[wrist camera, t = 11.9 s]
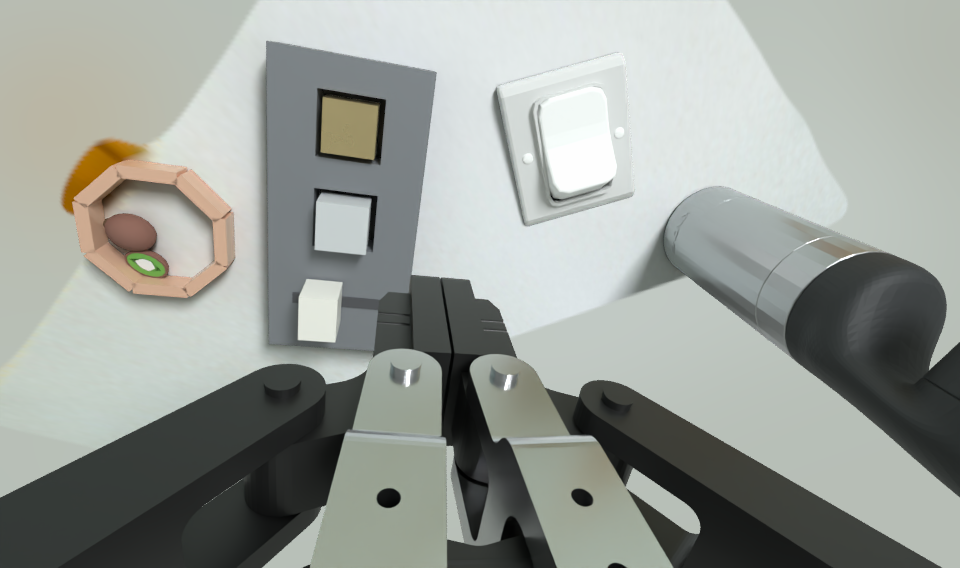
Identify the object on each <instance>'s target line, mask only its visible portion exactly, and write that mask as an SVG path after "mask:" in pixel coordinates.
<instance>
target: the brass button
mask: <svg viewBox="0 0 960 568" xmlns="http://www.w3.org/2000/svg"><path fill="white" fill-rule="evenodd" d="M379 113H380V103H379V102H373V101H367V100H361V99H356V98H350V97H344V96H338V95H332V94H327V95H325V96H324V97H323V102H322V130H321V152H322V153H329V154H336V155H343V156H350V157H356V158H363V159H370V160H374V159H375V155H376V149H377V137H378V125H379Z"/></svg>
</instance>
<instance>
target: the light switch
mask: <svg viewBox="0 0 960 568" xmlns="http://www.w3.org/2000/svg"><path fill="white" fill-rule="evenodd" d="M496 91H497V96H498V100H499V105H500V110H501V115H502V120H503V125H504V130H505V134H506V139H507V144H508V148H509V153H510V158H511V163H512V167H513V172H514V177H515V181H516V186H517V191H518V195H519V200H520V205H521V209H522V214H523V219H524V224H525V225H526V226H530V225H534V224H537V223H541V222H544V221H548V220H551V219H555V218H558V217H562V216H565V215H569V214H572V213H576V212H579V211H583V210H586V209H590V208H593V207H597V206H601V205H604V204H608V203H611V202H615V201H618V200H622V199H625V198H629V197H632V196H633V195H634V191H635V187H634V173H633V159H632V144H631V130H630V116H629V102H628V88H627V74H626V62H625V59H624V55H623V54H622V53H614V54H610V55H607V56H603V57H600V58H596V59H593V60H589V61H585V62H582V63H578V64H575V65H571V66H567V67H564V68H560V69H557V70H553V71H549V72H546V73H542V74H539V75H535V76H531V77H528V78H524V79H521V80H517V81H513V82H510V83H506V84H503V85H499V86H498V87H497V90H496ZM607 183H608V184H607ZM605 184H607V185H606V186H605V187H603V186H604V185H605ZM602 187H603V188H602ZM600 188H602V189H600ZM594 190H595V191H594ZM587 192H588V193H587ZM550 194H551V195H552V197H553V198H556V199H563V200H560V201H558V200H552V198H551V196H550ZM580 194H581V195H580ZM573 196H574V197H573ZM566 198H567V199H566Z"/></svg>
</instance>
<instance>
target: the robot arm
mask: <svg viewBox="0 0 960 568" xmlns="http://www.w3.org/2000/svg"><path fill="white" fill-rule="evenodd" d="M664 248H665V253H666V255H667V257H668V259H669V260H670V262H671V263H672V264H673V265H674V266H675V267H676V268H678V269H679V270H680V271H681V272H683V273H684V274H685V275H687V276H688V277H689V278H690V279H692V280H693V281H694V282H695V283H696V284H698V285H699V286H700V287H702V288H703V289H704V290H705V291H707V292H708V293H709V294H711V295H712V296H713V297H714V298H716V299H717V300H718V301H719V302H721V303H722V304H723V305H725V306H726V307H727V308H728V309H730V310H731V311H732V312H733V313H735V314H736V315H737V316H739V317H740V318H741V319H742V320H744V321H745V322H746V323H748V324H749V325H750V326H751V327H753V328H754V329H755V330H757V331H758V332H759V333H760V334H761V335H763V336H764V337H765V338H767V339H768V340H769V341H771V342H772V343H773V344H775V345H776V346H777V347H778V348H780V349H781V350H782V351H784V352H785V353H786V354H787V355H789V356H790V357H791V358H792V359H794V360H795V361H796V362H798V363H799V364H800V365H802V366H803V367H804V368H805V369H807V370H808V371H809V372H811V373H812V374H813V375H815V376H816V377H817V378H819V379H820V380H821V381H823V382H824V383H825V384H827V385H828V386H829V387H830V388H832V389H833V390H834V391H836V392H837V393H838V394H840V395H841V396H842V397H843V398H844V399H846V400H847V401H848V402H849V403H851V404H852V405H853V406H855V407H856V408H857V409H858V410H859V411H860V412H862V413H863V414H864V415H865V416H866V417H867V418H869V419H870V420H871V421H872V422H873V423H875V424H876V425H877V426H878V427H879V428H881V429H882V430H883V431H884V432H885V433H886V434H887V435H889V436H890V437H891V438H892V439H893V440H894V441H895V442H896V443H898V444H899V445H900V446H901V447H902V448H903V449H904V450H905V451H907V452H908V453H909V454H910V455H911V456H912V457H913V458H914V459H916V460H917V461H918V462H919V463H920V464H921V465H922V466H924V467H925V468H926V469H927V470H928V471H929V472H931V474H933V475H934V476H935V477H936V478H937V479H939V480H940V481H941V482H942V483H943V484H945V485H946V486H947V487H948V488H949V489H951V490H952V491H953V492H954V493H955V494H957V495H958V496H959V497H960V342H959V343H958V344H957V345H956V346H955V347H954V348H953V349H952V350H951V351H950V352H949V353H948V354H946V355H945V357H943V358H942V359H941V360H940V361H939V362H938V363H937V364H936V365H935V366H934V367H932V368H931V369H930V370H929V365H930V361H931V358H932V354H933V352H934V349H935V347H936V344H937V342H938V339H939V336H940V334H941V332H942V329H943V325H944V322H945V317H946V306H947V304H946V298H945V293H944V290H943V288H942V286H941V284H940V283H939V281H938V280H937V279H936V278H935V277H934V276H933V275H932V274H931V273H929V272H928V271H927V270H925V269H924V268H922V267H920V266H918V265H916V264H914V263H911V262H909V261H907V260H904V259H902V258H899V257H897V256H894V255H892V254H889V253H887V252H884V251H882V250H879V249H877V248H875V247H872V246H870V245H867V244H865V243H862V242H860V241H858V240H855V239H852V238H850V237H847V236H845V235H842V234H840V233H838V232H835V231H833V230H830V229H828V228H825V227H823V226H821V225H818V224H816V223H813V222H811V221H808V220H806V219H803V218H801V217H799V216H796V215H794V214H791V213H789V212H786V211H784V210H782V209H779V208H777V207H774V206H772V205H769V204H767V203H765V202H762V201H760V200H758V199H755V198H753V197H750V196H748V195H745V194H743V193H740V192H738V191H736V190H733V189H731V188H727V187H710V188H706V189H703V190H700V191H698V192H696V193H694V194H692V195H691V196H690V197H688V198H687V199H685V200H684V201H683V202H682V203H681V204H680V205H679V206H678V207H677V208H676V210H675V211H674V213H673V214H672V216H671V217H670V219H669V222H668V224H667V226H666V230H665V234H664ZM446 446H453V447H454V459H453V465H452V469H451V480H452V484H453V490H454V494H455V499H456V504H457V509H458V514H459V519H460V524H461V529H462V533H463V538H464V543H460V542H456V541H451V540H447V493H446V492H447V488H446V487H447V486H446V483H447V482H446ZM633 468H635V469H636V470H638V471H639V472H641V473H642V474H643V475H645V476H647V477H648V478H649V479H651V480H652V481H654V482H655V483H657V484H658V485H660V486H661V487H662V488H664V489H665V490H667V491H669V492H670V493H671V494H673V495H674V496H676V497H677V498H679V499H680V500H682V501H683V502H685V503H686V504H687V505H688V506H690V507H691V508H692V509H693V510H694V512H695V513H696V515H697V517H698V519H699V521H700V526H701V528H700V533H699V534H692V533H689V532H687V531H685V530H684V529H682V528H681V527H679V526H678V525H676V524H675V523H674V522H672V521H671V520H670V519H668V518H667V517H665V516H664V515H663V514H661V513H660V512H658V511H657V510H656V509H654V508H653V507H651V506H650V505H648V504H647V503H646V502H644V501H643V500H641V499H640V498H639V497H637V496H636V495H635V494H633V493H632V492H630V491H629V490H628V489H626V484H627V482H628V479H629V476H630V474H631V471H632V469H633ZM241 479H242V480H241ZM239 480H240V481H239ZM238 481H239V482H238ZM237 482H238V483H237ZM235 483H236V484H235ZM234 484H235V485H234ZM232 485H233V486H232ZM231 486H232V487H231ZM229 487H230V488H229ZM228 488H229V489H228ZM226 489H227V490H226ZM225 490H226V491H225ZM222 492H223V493H222ZM221 493H222V494H221ZM219 494H220V495H219ZM218 495H219V496H218ZM216 496H217V497H216ZM215 497H216V498H215ZM212 499H213V500H212ZM209 501H210V502H209ZM208 502H209V503H208ZM206 503H207V504H206ZM205 504H206V505H205ZM325 505H326V509H325V512H324V516H323V519H322V524H321V527H320V531H319V534H318V538H317V542H316V546H315V550H314V554H313V557H312V561H311V564H310V565H308V566H305V567H303V568H941V567H940V566H938V565H936V564H934V563H933V562H931V561H929V560H927V559H926V558H924V557H922V556H920V555H919V554H917V553H915V552H914V551H912V550H910V549H908V548H906V547H905V546H903V545H901V544H900V543H898V542H896V541H894V540H893V539H891V538H889V537H888V536H886V535H884V534H882V533H881V532H879V531H877V530H875V529H874V528H872V527H870V526H868V525H866V524H865V523H863V522H862V521H860V520H858V519H856V518H855V517H853V516H851V515H849V514H848V513H846V512H844V511H842V510H841V509H839V508H837V507H836V506H834V505H832V504H830V503H828V502H827V501H825V500H823V499H822V498H820V497H818V496H816V495H815V494H813V493H811V492H809V491H808V490H806V489H804V488H803V487H801V486H799V485H797V484H795V483H794V482H792V481H790V480H789V479H787V478H785V477H783V476H782V475H780V474H778V473H777V472H775V471H773V470H771V469H770V468H768V467H766V466H764V465H763V464H761V463H759V462H757V461H756V460H754V459H752V458H751V457H749V456H747V455H745V454H744V453H742V452H740V451H738V450H737V449H735V448H733V447H731V446H730V445H728V444H726V443H724V442H723V441H721V440H719V439H718V438H716V437H714V436H712V435H711V434H709V433H707V432H705V431H704V430H702V429H700V428H698V427H697V426H695V425H693V424H692V423H690V422H688V421H686V420H685V419H683V418H681V417H679V416H677V415H676V414H674V413H672V412H671V411H669V410H667V409H665V408H664V407H662V406H660V405H659V404H657V403H655V402H653V401H652V400H650V399H648V398H646V397H645V396H643V395H641V394H639V393H638V392H636V391H634V390H632V389H630V388H629V387H627V386H624V385H622V384H619V383H615V382H611V381H604V380H597V381H591V382H589V383H587V384H585V385H584V386H583V387H582V388H581V391H580V394H579V397H575V396H571V395H568V394H564V393H560V392H556V391H553V390H550V389H547V388H545V387H544V385H543V384H542V382H541V380H540V378H539V376H538V374H537V373H536V371H535V370H534V369H533V368H532V367H531V366H530V365H529V364H527V363H525V362H524V361H522V360H520V359H518V358H517V357H516V354H515V351H514V349H513V346H512V343H511V340H510V338H509V335H508V332H507V330H506V327H505V324H504V323H503V319H502V316H501V313H500V311H499V309H498V308H496V307H495V306H494V305H493V304H492V303H491V302H490V301H489V300H485V299H475V297H474V294H473V291H472V287H471V284H470V281H469V280H465V279H453V278H442V277H441V279H440V278H439V277H430V276H418V275H411V277H410V283H409V292H408V293H397V292H388V293H387V294H386V295H385V296H384V297H383V298H382V299H380V300H379V306H378V316H377V326H376V336H375V345H374V355H373V358H372V359H371V361H370V362H369V365H368V369H367V370H366V371H365V372H364V373H363V374H361V375H359V376H358V377H355V378H353V379H350V380H347V381H343V382H338V383H332V384H326V383H325V380H324V378H323V376H322V375H321V374H320V373H318V372H317V371H315V370H314V369H311V368H309V367H306V366H302V365H296V364H280V365H273V366H268V367H265V368H262V369H259V370H257V371H255V372H253V373H251V374H249V375H247V376H245V377H243V378H241V379H239V380H237V381H235V382H233V383H231V384H228V385H226V386H224V387H222V388H220V389H218V390H216V391H214V392H212V393H210V394H208V395H206V396H204V397H202V398H200V399H198V400H196V401H194V402H192V403H190V404H188V405H186V406H184V407H182V408H180V409H178V410H176V411H174V412H172V413H170V414H168V415H166V416H164V417H162V418H160V419H158V420H156V421H154V422H152V423H150V424H148V425H146V426H144V427H142V428H140V429H138V430H136V431H134V432H132V433H130V434H128V435H126V436H124V437H122V438H120V439H118V440H116V441H114V442H112V443H110V444H108V445H106V446H104V447H102V448H100V449H98V450H95V451H94V452H91V453H89V454H87V455H86V456H84V457H82V458H79V459H77V460H75V461H73V462H71V463H69V464H67V465H65V466H63V467H61V468H59V469H57V470H55V471H53V472H51V473H49V474H47V475H45V476H43V477H41V478H39V479H37V480H35V481H33V482H31V483H29V484H27V485H25V486H23V487H21V488H19V489H17V490H15V491H13V492H11V493H9V494H7V495H5V496H3V497H1V498H0V568H262V567H263V566H264V565H265V564H266V563H268V562H269V561H270V560H271V559H272V558H273V557H274V556H275V555H277V553H279V552H280V551H281V550H282V549H283V548H284V547H285V546H286V545H288V544H289V543H290V542H291V541H292V540H293V539H294V538H296V537H297V536H298V535H299V534H300V533H301V532H302V531H303V530H304V529H306V528H307V527H308V526H309V525H310V524H311V523H312V522H313V521H314V520H315V518H316V517H317V516H318V514H319V512H320V510H321V507H322V506H325ZM202 506H203V507H202Z"/></svg>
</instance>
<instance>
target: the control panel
mask: <svg viewBox="0 0 960 568" xmlns="http://www.w3.org/2000/svg"><path fill="white" fill-rule="evenodd" d="M266 62H267V185H268V309H269V344H279V345H294V346H309V347H323V348H338V349H353V350H368V351H374V345H375V336H376V326H377V316H378V306H379V300H380V299H382V298H383V297H384V296H385V295H386V294H387V293H388V292H397V293H408V292H409V283H410V277H411V273H412V265H413V257H414V249H415V241H416V233H417V225H418V217H419V209H420V201H421V193H422V185H423V177H424V169H425V161H426V153H427V145H428V137H429V129H430V121H431V113H432V105H433V97H434V89H435V81H436V74H437V73H436V72H435V71H430V70H425V69H419V68H414V67H408V66H403V65H398V64H392V63H387V62H382V61H376V60H371V59H365V58H360V57H355V56H349V55H344V54H339V53H333V52H328V51H322V50H317V49H312V48H306V47H301V46H296V45H290V44H285V43H280V42H272V41H266ZM323 89H327V90H333V91H339V92H344V93H350V94H356V95H362V96H368V97H374V98H380V99H385V100H386V108H385V119H384V131H383V142H382V153H381V158H376V157H375V159H374V160H370V159H363V158H356V157H350V156H343V155H336V154H329V153H322V152H321V130H322V102H323ZM320 189H327V190H335V191H343V192H350V193H358V194H366V195H373V196H378V199H377V211H376V222H375V233H374V240H368V246H367V251H366V255H359V254H350V253H340V252H331V251H321V250H315V224H316V201H317V199H318V198H319V193H320ZM306 279H314V280H325V281H335V282H343V286H342V302H341V318H340V325H339V329H338V333H337V337H336V342H335V343H334V342H320V341H305V340H298V308H299V295H300V293H301V291H302V289H303V286H304V284H305V282H306Z"/></svg>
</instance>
